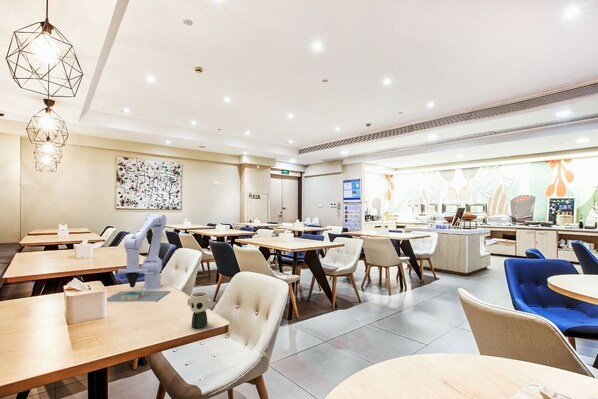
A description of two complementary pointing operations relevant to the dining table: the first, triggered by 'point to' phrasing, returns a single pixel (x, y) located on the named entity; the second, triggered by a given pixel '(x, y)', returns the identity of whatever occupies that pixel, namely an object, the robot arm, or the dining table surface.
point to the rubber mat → (146, 297)
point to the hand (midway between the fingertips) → (132, 286)
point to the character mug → (199, 308)
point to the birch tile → (132, 295)
